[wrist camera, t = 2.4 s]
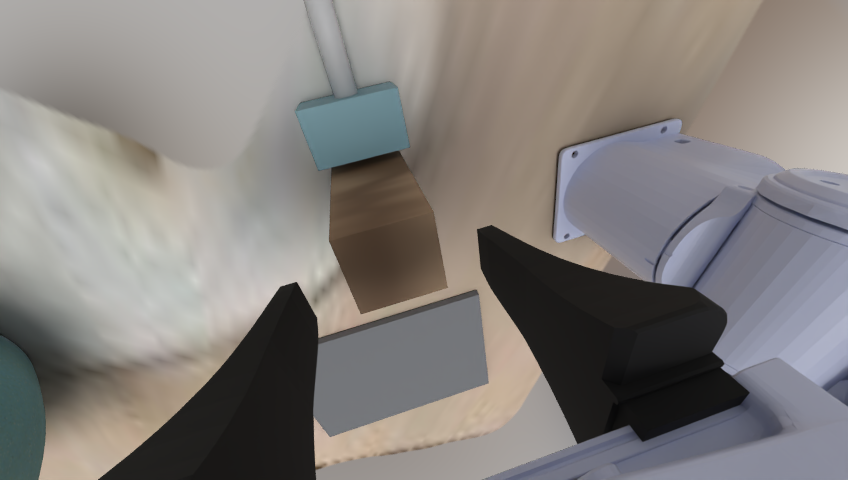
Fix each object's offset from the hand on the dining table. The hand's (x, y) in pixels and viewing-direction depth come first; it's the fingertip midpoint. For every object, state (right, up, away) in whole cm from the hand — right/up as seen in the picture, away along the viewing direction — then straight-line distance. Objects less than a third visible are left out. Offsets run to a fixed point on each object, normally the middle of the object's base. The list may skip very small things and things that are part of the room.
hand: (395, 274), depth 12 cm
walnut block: (-2, +5, +8) cm, 10 cm away
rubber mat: (-2, -11, +18) cm, 21 cm away
